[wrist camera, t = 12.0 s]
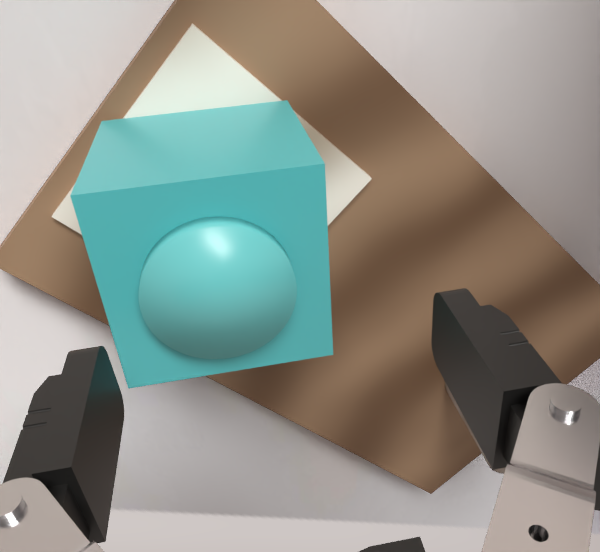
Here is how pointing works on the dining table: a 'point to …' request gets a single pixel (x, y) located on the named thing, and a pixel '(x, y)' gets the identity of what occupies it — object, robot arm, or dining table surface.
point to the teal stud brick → (208, 240)
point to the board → (343, 230)
